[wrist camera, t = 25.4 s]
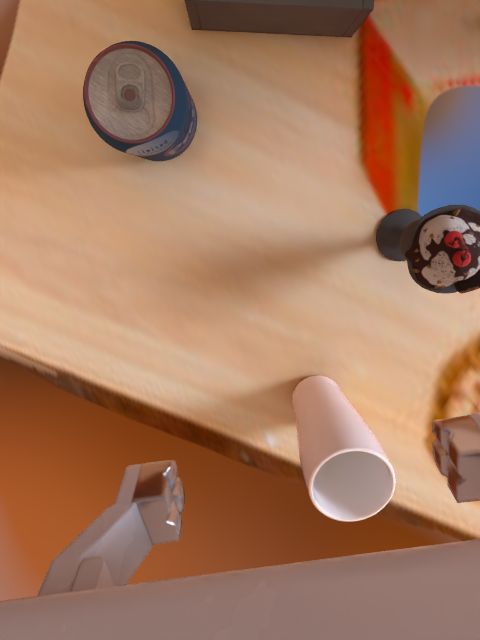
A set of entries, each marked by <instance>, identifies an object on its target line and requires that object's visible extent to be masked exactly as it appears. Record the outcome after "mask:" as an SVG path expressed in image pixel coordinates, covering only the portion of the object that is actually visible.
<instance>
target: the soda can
mask: <svg viewBox="0 0 480 640" xmlns="http://www.w3.org/2000/svg"><path fill="white" fill-rule="evenodd" d="M83 100H84V106H85V110H86V114H87V116H88V119H89V121H90V123H91V125H92V127H93V128H94V130H95V131H96V133H97V134H98V135H99V136H100V137H101V138H102V139H103V140H104V141H105V142H106V143H107V144H109V145H110V146H112V147H113V148H115V149H117V150H119V151H122V152H125V153H128V154H131V155H135V156H138V157H141V158H144V159H147V160H152V161H166V160H170V159H173V158H175V157H177V156H178V155H180V154H181V153H183V152H184V151H185V150H186V149H187V147H188V146H189V145H190V143H191V141H192V139H193V137H194V135H195V131H196V126H197V114H196V108H195V105H194V102H193V100H192V98H191V96H190V93H189V91H188V89H187V87H186V85H185V83H184V81H183V79H182V77H181V75H180V72H179V71H178V69H177V67H176V66H175V64H174V63H173V62H172V61H171V60H170V58H169V57H168V56H167V55H165V54H164V53H163V52H162V51H160V50H159V49H157V48H156V47H154V46H152V45H149V44H146V43H143V42H138V41H125V42H120V43H116V44H114V45H111V46H109V47H108V48H106V49H105V50H103V51H102V52H100V53H99V54H98V55H97V56H96V57H95V59H94V60H93V61H92V63H91V64H90V66H89V68H88V71H87V73H86V77H85V81H84V87H83Z"/></svg>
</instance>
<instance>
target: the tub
mask: <svg viewBox="0 0 480 640" xmlns="http://www.w3.org/2000/svg"><path fill="white" fill-rule="evenodd" d="M185 3H186V7H187V11H188V15H189V19H190V23H191V27H192V30H212V31H233V32H253V33H274V34H294V35H314V36H335V37H352V35H353V34H354V33H355V32H356V30H357V29H358V28H359V27H360V25H361V24H362V23H363V22H364V20H365V19H366V18H367V17H368V15H369V14H370V13H371V12H372V11H373V8H374V0H185Z"/></svg>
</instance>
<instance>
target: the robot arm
mask: <svg viewBox="0 0 480 640" xmlns="http://www.w3.org/2000/svg"><path fill="white" fill-rule="evenodd" d="M432 431H433V433H434V435H435V436H436V439H435V440H434V441H433V443H432V444H433V454H434V459H435V462H436V465H437V467H438V469H439V471H440V473H441V474H442V475H444V476H446V477H447V478H448V487H449V489H450V490H451V492H452V494H453V496H454V497H455V499H456V501H457V502H458V503H461V502H470V501H480V413H477V414H471V415H467V416H461V417H454V418H448V419H441V420H435V421H433V424H432ZM177 471H178V468H177V465H176V462H175V461H174V460H167V461H159V462H152V463H144V464H138V465H131V466H128V467H127V468H126V470H125V473H124V476H123V479H122V482H121V485H120V488H119V491H118V494H117V497H116V500H115V504H114V505H111V506H109V507H108V508H107V509H106V510H105V511H104V512H103V513H102V514H101V515H100V516H99V517H97V518H96V519H95V520H94V521H93V522H92V523H91V524H90V525H89V526H88V527H87V528H86V529H85V530H84V531H83V532H82V533H81V534H80V535H79V536H78V537H77V538H76V539H75V540H74V541H73V542H71V543H70V544H69V545H68V546H67V547H66V548H65V549H64V550H63V551H62V552H61V553H60V554H59V555H58V556H57V557H56V558H55V559H54V560H53V561H52V562H51V565H50V567H49V569H48V572H47V574H46V576H45V579H44V581H43V583H42V586H41V588H40V591H39V593H38V595H37V596H35V597H28V598H20V599H12V600H4V601H0V640H480V539H477V540H469V541H462V542H454V543H447V544H439V545H431V546H423V547H415V548H407V549H400V550H391V551H384V552H376V553H368V554H360V555H352V556H345V557H337V558H329V559H322V560H314V561H306V562H299V563H291V564H284V565H276V566H268V567H260V568H252V569H245V570H237V571H230V572H221V573H214V574H207V575H199V576H191V577H184V578H175V579H167V580H160V581H152V582H144V583H137V584H129V585H126V584H127V582H128V581H129V580H130V578H131V577H132V576H133V574H134V573H135V571H136V570H137V568H138V567H139V566H140V564H141V563H142V561H143V560H144V558H145V557H146V556H147V554H148V553H149V551H150V550H151V548H152V547H153V546H152V545H156V544H162V543H168V542H173V541H179V540H180V533H181V526H182V520H181V517H180V514H181V513H182V512H183V510H184V504H185V494H184V487H183V484H182V480H181V479H180V478H178V477H177Z"/></svg>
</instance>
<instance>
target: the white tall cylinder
mask: <svg viewBox="0 0 480 640" xmlns="http://www.w3.org/2000/svg"><path fill="white" fill-rule="evenodd" d="M292 403H293V408H294V411H295V419H296V428H297V437H298V447H299V456H300V462H301V468H302V472H303V476H304V479H305V483H306V486H307V489H308V492H309V495H310V498H311V500H312V502H313V504H314V505H315V507H316V508H317V509H318V510H319V511H320V512H321V513H323V514H324V515H326V516H327V517H329V518H332V519H335V520H339V521H359V520H363V519H366V518H368V517H371V516H373V515H374V514H376V513H378V512H379V511H380V510H381V509H383V508H384V507H385V506H386V504H387V503H388V502H389V500H390V499H391V497H392V495H393V492H394V489H395V481H396V480H395V473H394V470H393V468H392V466H391V464H390V462H389V459H388V457H387V455H386V453H385V451H384V449H383V448H382V446H381V444H380V443H379V441H378V439H377V438H376V436H375V435H374V433H373V432H372V430H371V429H370V428H369V426H368V425H367V424H366V423H365V421H364V420H363V419H362V417H361V416H360V415H359V414H358V412H357V411H356V410H355V408H354V407H353V406H352V405H351V403H350V402H349V401H348V399H347V398H346V397H345V395H344V394H343V392H342V390H341V389H340V387H339V385H338V384H337V383H336V382H335V381H334V380H332V379H331V378H329V377H326V376H321V375H315V376H310V377H308V378H306V379H304V380H302V381H301V382H300V383H299V384H298V385H297V386H296V388H295V390H294V392H293V396H292Z"/></svg>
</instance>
